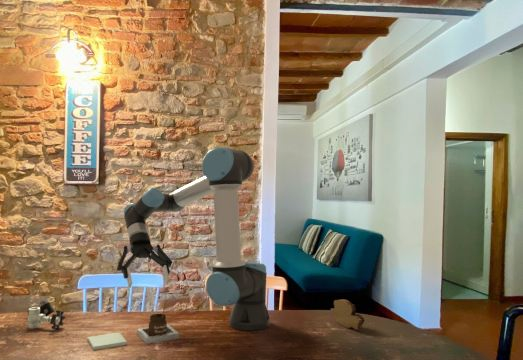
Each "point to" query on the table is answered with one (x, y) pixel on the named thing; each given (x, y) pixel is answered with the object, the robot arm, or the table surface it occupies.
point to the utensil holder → (158, 322)
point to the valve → (44, 318)
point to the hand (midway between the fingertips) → (149, 283)
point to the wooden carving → (347, 314)
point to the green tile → (106, 341)
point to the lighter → (45, 308)
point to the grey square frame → (159, 338)
